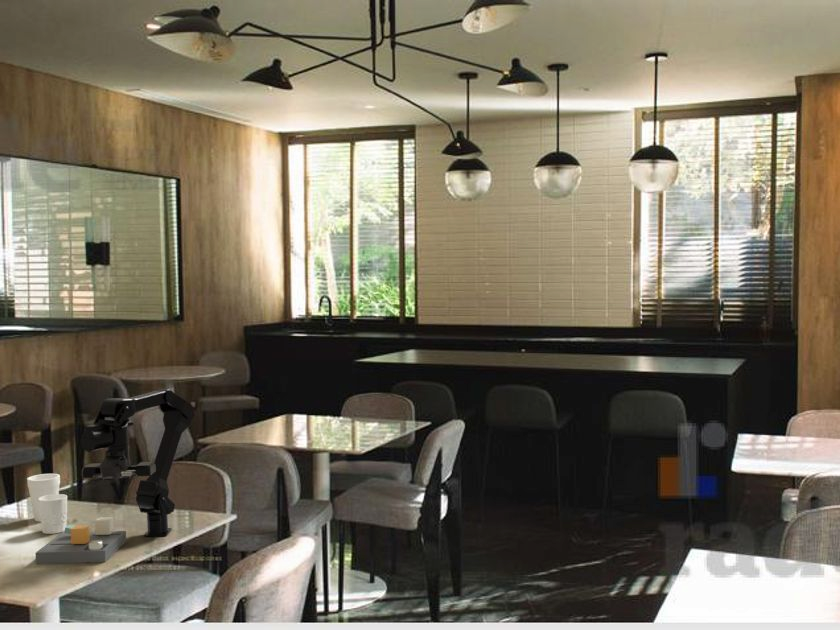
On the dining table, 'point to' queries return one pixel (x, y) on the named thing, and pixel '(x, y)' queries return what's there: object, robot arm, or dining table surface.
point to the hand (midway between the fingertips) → (120, 500)
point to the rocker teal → (67, 529)
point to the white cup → (53, 513)
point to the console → (79, 549)
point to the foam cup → (42, 489)
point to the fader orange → (80, 534)
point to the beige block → (104, 526)
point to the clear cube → (96, 545)
